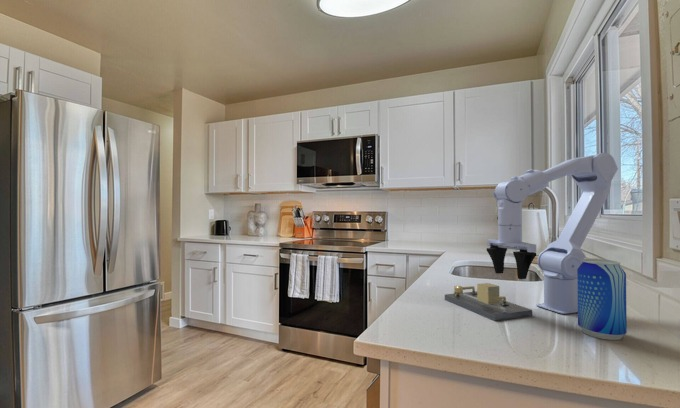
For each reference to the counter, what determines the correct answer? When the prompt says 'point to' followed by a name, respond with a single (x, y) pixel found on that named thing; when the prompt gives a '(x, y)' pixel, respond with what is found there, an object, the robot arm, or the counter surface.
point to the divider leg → (489, 293)
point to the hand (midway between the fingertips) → (510, 275)
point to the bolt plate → (486, 305)
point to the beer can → (602, 299)
